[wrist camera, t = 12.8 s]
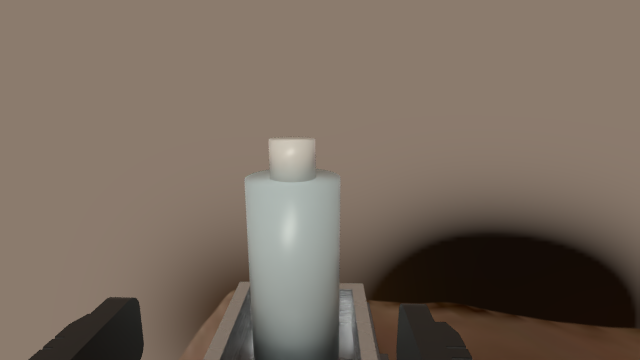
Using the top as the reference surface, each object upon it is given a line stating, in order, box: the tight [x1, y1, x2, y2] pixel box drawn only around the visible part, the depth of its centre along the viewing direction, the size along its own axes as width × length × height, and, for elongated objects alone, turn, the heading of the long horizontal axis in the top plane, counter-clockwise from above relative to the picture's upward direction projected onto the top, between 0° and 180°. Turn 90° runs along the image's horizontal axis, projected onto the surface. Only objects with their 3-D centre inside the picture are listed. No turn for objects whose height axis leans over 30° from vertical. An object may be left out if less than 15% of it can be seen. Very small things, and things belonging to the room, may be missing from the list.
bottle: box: [245, 137, 340, 360], centre depth 20 cm, size 5×5×13 cm
